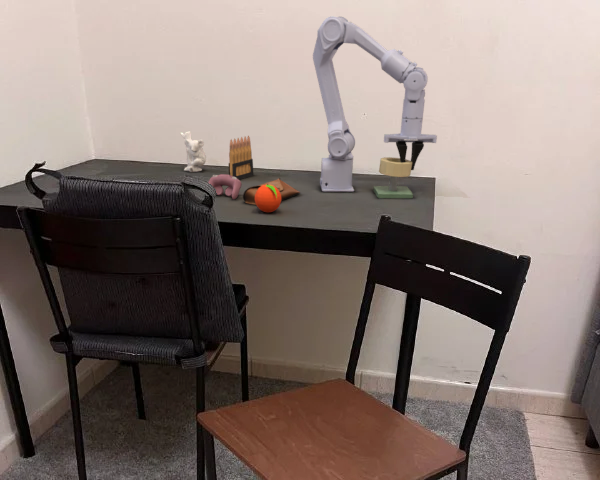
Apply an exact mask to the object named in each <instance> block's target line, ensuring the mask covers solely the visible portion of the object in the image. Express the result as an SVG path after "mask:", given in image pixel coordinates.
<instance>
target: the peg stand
mask: <svg viewBox="0 0 600 480" xmlns="http://www.w3.org/2000/svg"><path fill="white" fill-rule="evenodd" d="M398 180H399V177H393V176H389V185H373V187H372V191H373V192H374V194H375V195H376V197H377V199H413V198H414V194H413V192H412V191H411V189H410V188H408V186H406V185H398Z"/></svg>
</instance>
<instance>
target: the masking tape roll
mask: <svg viewBox="0 0 600 480" xmlns="http://www.w3.org/2000/svg"><path fill="white" fill-rule="evenodd" d="M411 168H412V162H411V160H409V159H405V162H404V163H401V161H400V157H390V156H389V157H386V156H385V157H384V156H383V157H382V158H380V160H379V168H378V172H379V174H382V175H383V176H389V177H390V176H393V177H398V178H408V177H410V176H411V173H412V170H411Z"/></svg>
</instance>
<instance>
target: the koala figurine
mask: <svg viewBox="0 0 600 480" xmlns="http://www.w3.org/2000/svg"><path fill="white" fill-rule="evenodd" d="M179 134H180V136H181V137H182V138H183V139H184V145H185V148H186V163H187V164H186V166H185V167H184V169H183V171H187V172H189V173H195V172H197V173H198V172H202V171H203V169H202V168H201V167H203V166H205V164H206V161H207V155H206V152H205V150H204V149H203V147H204V145H205V142H204V140H203V139H198V140H197V139H192V132H191V131H190V130H188V131H185V132H184V133H183V132H182V131H181V132H180V133H179Z"/></svg>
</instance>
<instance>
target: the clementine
mask: <svg viewBox="0 0 600 480" xmlns="http://www.w3.org/2000/svg"><path fill="white" fill-rule="evenodd" d="M255 203H256V205H255V206H256V207H257V208H258V210H260V211H262V212H264V213H273V212H275V211H276V210H278V209H279V208H280V206H281V203H282V200H281V194H280V191H279V190H278V189H277V188H276V187H275V186H273V185H268V184H267V185H262V186H261V187H260V188H258V190H257V191H256V194H255Z"/></svg>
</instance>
